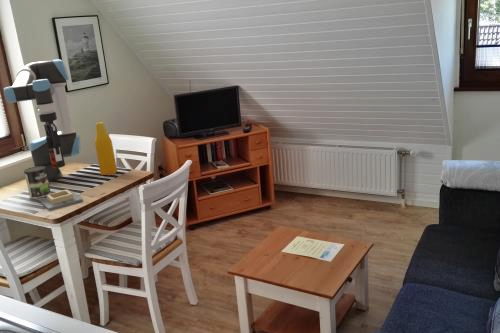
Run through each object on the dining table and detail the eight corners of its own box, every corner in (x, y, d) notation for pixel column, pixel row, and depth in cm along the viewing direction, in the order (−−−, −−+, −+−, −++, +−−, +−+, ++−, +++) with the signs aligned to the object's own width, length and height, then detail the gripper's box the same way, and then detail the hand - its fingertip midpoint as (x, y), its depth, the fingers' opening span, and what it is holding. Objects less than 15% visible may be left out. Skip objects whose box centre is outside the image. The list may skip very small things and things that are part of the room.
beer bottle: (117, 169, 296) (107, 120, 288) (117, 174, 288) (108, 123, 279) (100, 172, 294) (90, 122, 286) (100, 177, 286) (90, 125, 277)
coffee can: (55, 192, 266) (49, 166, 262) (38, 199, 258) (32, 172, 254) (42, 190, 272) (36, 165, 268) (25, 197, 264) (19, 171, 260)
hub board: (39, 201, 255) (38, 194, 254) (72, 192, 263) (70, 186, 262) (48, 210, 240) (47, 203, 239) (82, 201, 248) (81, 193, 247)
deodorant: (67, 165, 252) (61, 135, 248) (56, 168, 248) (49, 138, 244) (61, 164, 256) (55, 134, 252) (50, 167, 251) (43, 137, 248)
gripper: (34, 112, 250) (44, 158, 256) (44, 115, 235) (54, 164, 241) (50, 109, 254) (59, 155, 260) (60, 112, 239) (70, 160, 245)
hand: (57, 159), depth 251 cm, fingers closed on deodorant, 6 cm apart
